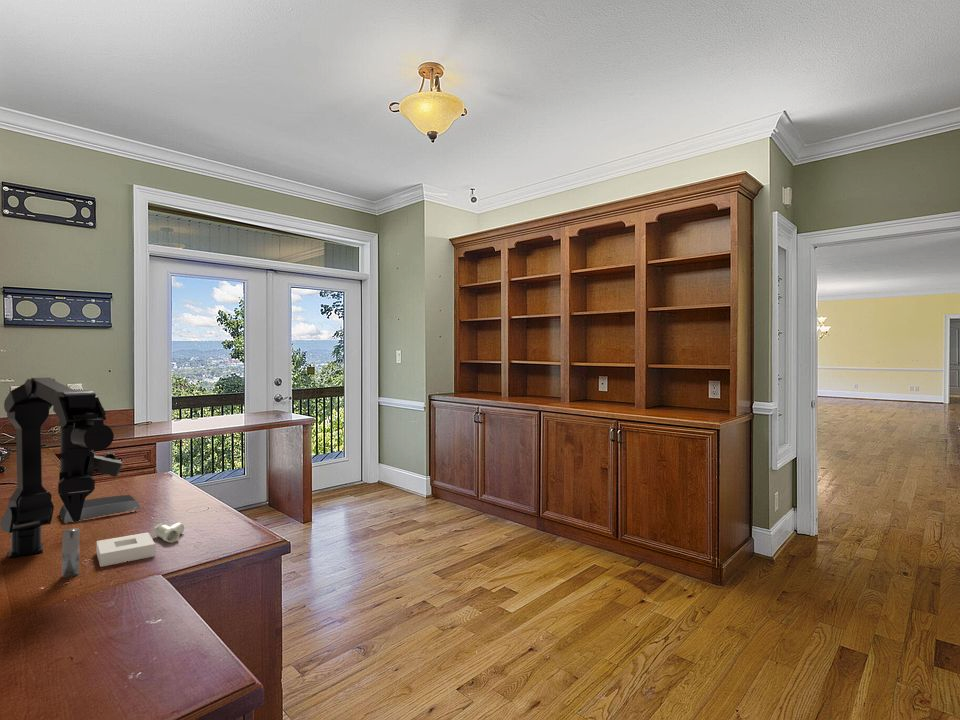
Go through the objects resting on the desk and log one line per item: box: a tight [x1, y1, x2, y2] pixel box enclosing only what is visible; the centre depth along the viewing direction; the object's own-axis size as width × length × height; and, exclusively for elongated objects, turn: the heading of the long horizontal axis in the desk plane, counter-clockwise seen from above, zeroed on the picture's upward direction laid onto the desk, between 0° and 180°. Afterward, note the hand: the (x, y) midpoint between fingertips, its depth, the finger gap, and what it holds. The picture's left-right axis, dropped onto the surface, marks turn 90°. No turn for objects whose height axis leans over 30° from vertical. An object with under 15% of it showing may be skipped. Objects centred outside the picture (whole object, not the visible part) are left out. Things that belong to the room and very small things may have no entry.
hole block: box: [96, 532, 156, 568], centre depth 131 cm, size 11×11×3 cm
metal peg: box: [61, 527, 81, 579], centre depth 119 cm, size 3×3×10 cm
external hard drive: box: [58, 494, 141, 524], centre depth 165 cm, size 13×19×4 cm
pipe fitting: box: [153, 522, 185, 544], centre depth 144 cm, size 8×4×7 cm
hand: (76, 516), depth 119 cm, fingers open, 9 cm apart
